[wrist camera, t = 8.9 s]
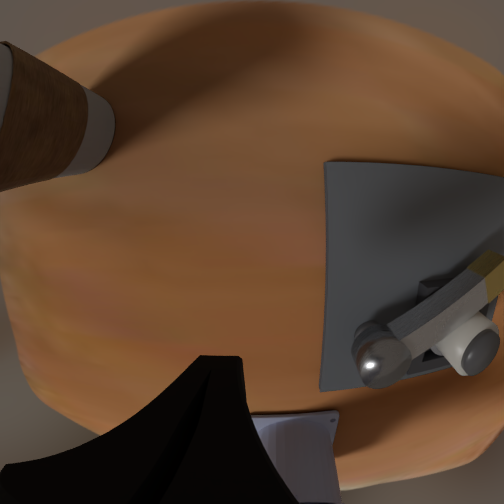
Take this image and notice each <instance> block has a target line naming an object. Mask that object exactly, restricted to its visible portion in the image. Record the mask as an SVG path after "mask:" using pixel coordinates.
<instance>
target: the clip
mask: <svg viewBox="0 0 504 504" xmlns="http://www.w3.org/2000/svg"><path fill="white" fill-rule="evenodd" d="M503 290H504V256H503V255H500V254H498V253H496V252H493V251H491V250H487V251H486V252H485V253H483V254H482V255H481V256H480V257H479V258H477V259H476V260H475V261H474V262H473V263H471V264H470V265H469V266H468V267H467V269H466V270H464V271H463V272H462V273H461V274H459V275H458V276H457V277H455V278H454V279H453V280H452V281H450V282H449V283H448V284H446V285H445V286H444V287H442V288H441V289H439V290H438V291H437V292H435V293H434V294H432V295H431V296H430V297H428V298H427V299H425V300H424V301H422V302H421V303H420V304H418V305H417V306H415V307H414V308H412V309H411V310H409V311H407V312H406V313H404V314H403V315H401V316H400V317H398V318H396V319H395V320H393V321H392V322H390V323H388V324H387V325H386V324H376V325H372V326H370V327H368V328H366V329H365V330H363V331H362V332H361V333H360V334H359V335H358V336H357V337H356V338H355V340H354V342H353V344H352V347H351V355H352V358H353V360H354V363H355V365H356V367H357V370H358V372H359V375H360V377H361V379H362V382H363V383H364V384H365V385H366V386H367V387H369V388H373V389H380V388H385V387H388V386H390V385H392V384H394V383H396V382H397V381H399V380H400V379H401V378H402V377H403V376H404V375H405V374H406V372H407V371H408V369H409V367H410V365H411V361H412V360H413V359H414V358H416V357H417V356H419V355H420V354H422V353H423V352H425V351H426V350H428V349H429V348H431V347H432V346H434V345H435V344H437V343H438V342H439V341H441V340H442V339H444V338H445V337H446V336H448V335H449V334H450V333H452V332H453V331H454V330H456V329H457V328H458V327H460V326H461V325H462V324H463V323H465V322H466V321H467V320H468V319H470V318H471V317H472V316H473V315H475V314H476V313H477V312H478V311H479V310H480V309H482V308H483V307H484V306H485V305H486V304H487V303H490V302H491V301H492V300H493V299H494V298H495V297H496V296H497V295H499V294H500V293H501V292H502V291H503Z"/></svg>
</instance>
